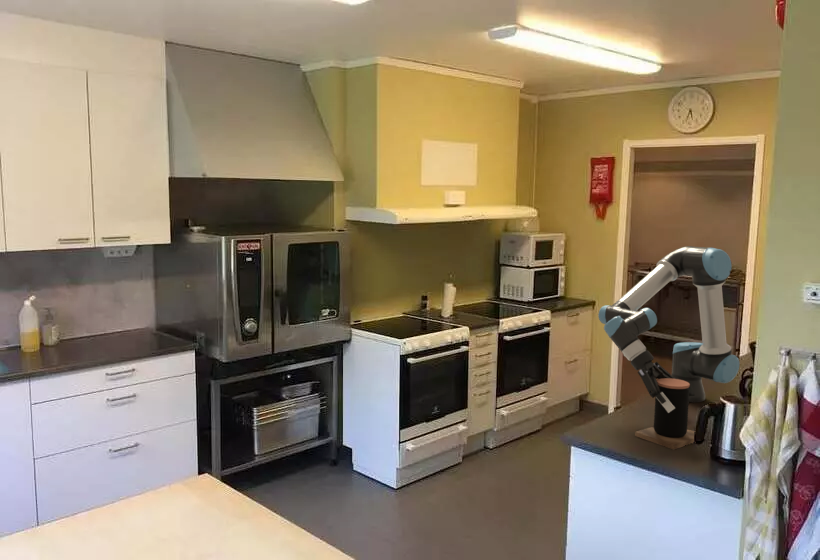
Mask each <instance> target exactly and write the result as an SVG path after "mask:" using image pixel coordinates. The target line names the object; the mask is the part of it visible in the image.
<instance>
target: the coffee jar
mask: <svg viewBox="0 0 820 560" xmlns="http://www.w3.org/2000/svg"><path fill="white" fill-rule="evenodd" d="M656 381H657V383H658V386H659V389H660V392H663V393H664V395H665V396H666V397H667V398H668V400H669V401H670V402H671V403H672V405H673V406H674V407H675V409H673V410H672V411H671V412H669V413H668V412H667V411H666V409H665V408H664V407H663V406H662V404H661V403H660V402H659V401H658V399H657V398H656V396H655V397H654V398H655V399H654V415H653V418H654V419H653V427H654V430H655V431H656V433H657V434H659V435H661V436H665V437H670V438H680V437H683V436H684V435H685V434H686V433H687V429H688V423H689V422H688V420H689V417H688V416H689V406H690V405H689V403H690V402H689V390H688V388H689V386H690V384H689V383H688V382H686V381H683V380H679V379H672V378H662V379H656Z"/></svg>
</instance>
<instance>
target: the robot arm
mask: <svg viewBox="0 0 820 560" xmlns="http://www.w3.org/2000/svg"><path fill="white" fill-rule="evenodd" d="M731 271H732V260H731V258H730V255H729V254H728V253H727V252H726V251H725V250H723V249H720V248H715V247H704V246H692V245H687V246H682V247H679V248H677V249H674V250H672V251H671V252H669V253H667V254H666V255H665V256H663V257H662V258H661V259H659V261H657V262H656V267H654V268H653V269H652V270H651V271H650V272H649V273H648V274H646V275H645V276H644V277H643V278H642V279H641V280H639V281H638V282H637V283H636V284H635V285H634V286H633V287H632V288H631V289H630V288H629V290H628V291H627V292H626V293H625V294H624V295H622V296H621V297H620V298H619V299H618V300H617V301H616V302H615V303H613V304H612V305H610V304H609V305H608V304H607V305H602V306H601V307H600V309H599V311H598V314H597V315H598V319H599V322H600V323H601V324H603V325H604V326H603V330H604V332H605V333H606V334H607V336H608V338H610V339H611V341H612V342H613V343H614V345H616V347H617V348H618V350H619V351H620V352H621V353H622V354H623V357H625V358H626V359H627V360H628V361H630V365H631V366H632V367H633V368H634V370H636V371H637V374H638V375H639V377H640V378H641V380H642V383H643V384H644V386H645V388H646V391H647V392H648V394H649V396H650V397H651V398H653V399H654V398H655V396H656V398H657V399H658V401H659V402H660V403H661V404H662V406H663V407H664V408H665V409H666V411H667V412H668V413H669V412H671V411H672V410H673V409H675V407H674V406H673V405H672V403H671V402H670V401H669V400H668V398H667V397H666V396H665V395H664V393H663V392H660V389H659V386H658V383H657V380H658V379H662V378H672V379H679V380H683V381H686V382H688V383H689V384H690V386H689V388H688V390H689V403H701V402H703V401H705V400H706V393H705V389H704V385H703V380H702V379H707V380H710V381H714V382H716V383H721V384H727V383H728V384H729V383H730V382H732V381H733V380H734V379H735V378H736V376H737V375H738V373H739V370H740V360H739V358H738V356H736V354H735V355H734V354H733V352H732V346H731V345H729V344H728V343H727V334H726V333H727V332H726V322H725V321H726V320H725V319H726V318H725V309H724V298H723V297H724V296H723V287H722V286H723V285H724V284H726V280H727V278H729V277H730V274H731ZM684 276H687V277H688V276H689V277H691V279H692V285H694V286H695V287H696V288H697V296H698V307H699V308H698V309H699V319H700V327H701V328H700V330H701V339H702V342H695V341H693V342H692V341H691V342H690V341H687V342H686V341H685V342H677V343H675V344H674V345H673V349H672V350H673V351H672V362H671V373H670V372H668V371H667V370H666V369H665V368H663V366H662V365H661V364H660V363H659V362H658V361H655V362H653V361H654V355H652V353H651V352H650V351H649V350H647V347H646V346H645V345H644V343H643V342H642V341H641V340H640V339H639V337H638V336H640V335H642V334H644V333H645V332H647V331H649V330H651V329H652V328H654V327H655V326H656V325H657V323H658V317H657V315H656V313H655V311H653V310H652V309H651V308H650V307H644V308H642V306H644V305H645V304H646V303H647V302H648V301H650V300H651V298H653V297H654V296H655V295H656V294H657V293H658V292H659V291H660V290H662V289H663V288H664V287H665V286H666V285H668V283H670V282H674V281H676V280H677V279H679V278H680V277H684Z"/></svg>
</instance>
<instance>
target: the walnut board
mask: <svg viewBox="0 0 820 560" xmlns="http://www.w3.org/2000/svg"><path fill="white" fill-rule="evenodd" d="M694 432H695V431H694V430H691V429H688V428H687V433H686V434H685V435H684V436H683V437H680V438H670V437H665V436H661V435H659V434H657V433H656V431H655V430H654V426H651V427H647V428H644V429H643V428H642V429H641V430H640V429H639V430H637V431H636V430H635V432H634V436H635V437H637V438H640V439H643V440H646V441H647V442H651V443H654V444H657V445H660V446H663V447H666V448H668V449H671V450H676V449H679V448H682V447H685V445H686V446H689V445H691V444H690V443H692V444H694V443H693V442H694ZM688 444H689V445H688Z"/></svg>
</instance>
